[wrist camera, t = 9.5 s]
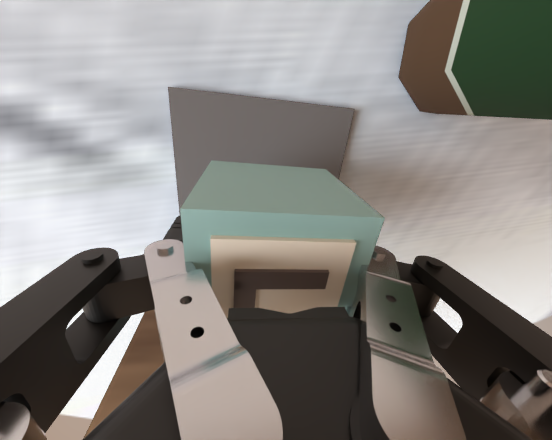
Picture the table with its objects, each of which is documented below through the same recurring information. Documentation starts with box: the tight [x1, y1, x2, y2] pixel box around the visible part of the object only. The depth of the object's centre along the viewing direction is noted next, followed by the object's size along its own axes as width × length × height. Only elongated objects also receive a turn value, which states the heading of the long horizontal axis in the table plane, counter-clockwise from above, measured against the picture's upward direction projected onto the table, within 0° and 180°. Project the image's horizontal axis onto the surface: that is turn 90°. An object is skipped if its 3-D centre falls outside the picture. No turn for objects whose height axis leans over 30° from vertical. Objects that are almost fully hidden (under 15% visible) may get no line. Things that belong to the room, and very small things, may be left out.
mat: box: [168, 87, 354, 215], centre depth 18 cm, size 12×12×1 cm
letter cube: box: [180, 160, 385, 318], centre depth 10 cm, size 6×6×6 cm
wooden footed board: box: [83, 310, 164, 439], centre depth 17 cm, size 5×16×12 cm, turn 84°
